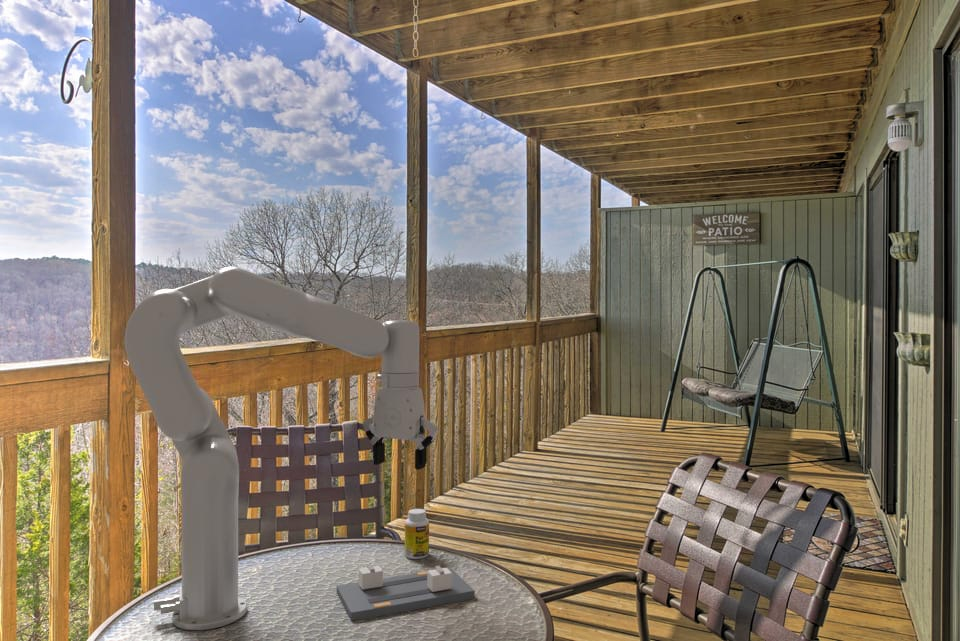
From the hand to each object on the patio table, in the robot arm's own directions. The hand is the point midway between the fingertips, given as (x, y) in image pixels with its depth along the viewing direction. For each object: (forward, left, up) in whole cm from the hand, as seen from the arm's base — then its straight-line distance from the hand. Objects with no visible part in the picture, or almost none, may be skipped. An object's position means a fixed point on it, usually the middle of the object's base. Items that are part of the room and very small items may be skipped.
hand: (399, 465), depth 132 cm
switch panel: (0, -5, -24) cm, 25 cm away
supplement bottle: (+9, +15, -25) cm, 30 cm away
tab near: (+6, -8, -22) cm, 25 cm away
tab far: (-6, -2, -22) cm, 23 cm away
